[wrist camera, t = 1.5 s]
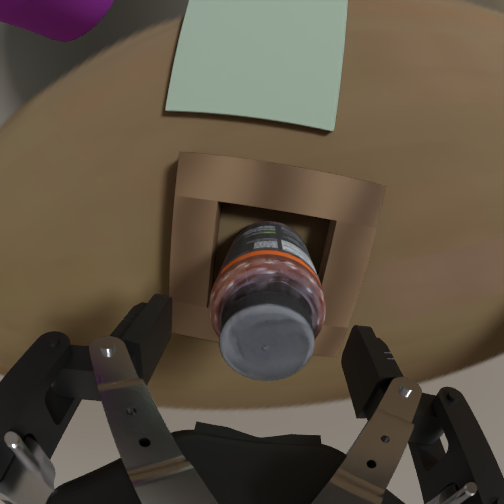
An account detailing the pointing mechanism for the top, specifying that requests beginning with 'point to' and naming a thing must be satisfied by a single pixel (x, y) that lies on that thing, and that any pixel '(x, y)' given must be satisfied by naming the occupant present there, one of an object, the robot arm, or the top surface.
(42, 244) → the top surface
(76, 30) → the beverage can
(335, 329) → the socket block
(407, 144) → the top surface
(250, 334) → the supplement bottle
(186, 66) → the pad
